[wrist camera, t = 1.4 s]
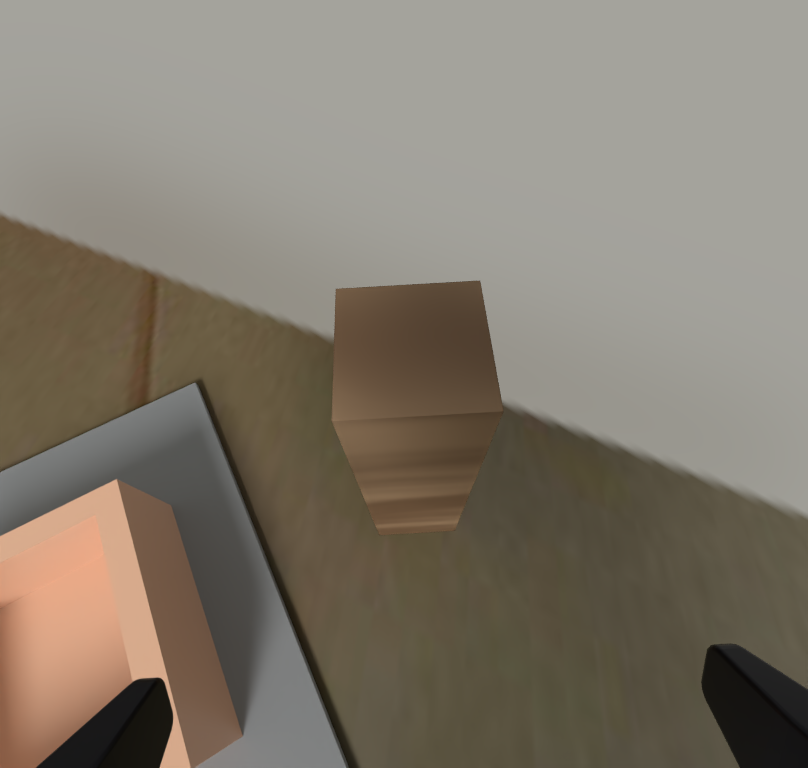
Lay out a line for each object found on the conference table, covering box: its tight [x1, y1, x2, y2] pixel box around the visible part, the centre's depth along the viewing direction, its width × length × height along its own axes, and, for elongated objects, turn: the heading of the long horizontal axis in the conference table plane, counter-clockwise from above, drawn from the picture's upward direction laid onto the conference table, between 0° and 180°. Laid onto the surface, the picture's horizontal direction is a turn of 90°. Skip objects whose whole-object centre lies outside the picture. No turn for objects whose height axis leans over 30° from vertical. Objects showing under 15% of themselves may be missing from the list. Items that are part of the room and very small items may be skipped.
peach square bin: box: [0, 479, 243, 768], centre depth 16 cm, size 10×10×4 cm
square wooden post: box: [332, 281, 503, 535], centre depth 15 cm, size 4×4×13 cm
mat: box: [0, 383, 349, 768], centre depth 18 cm, size 22×16×1 cm
